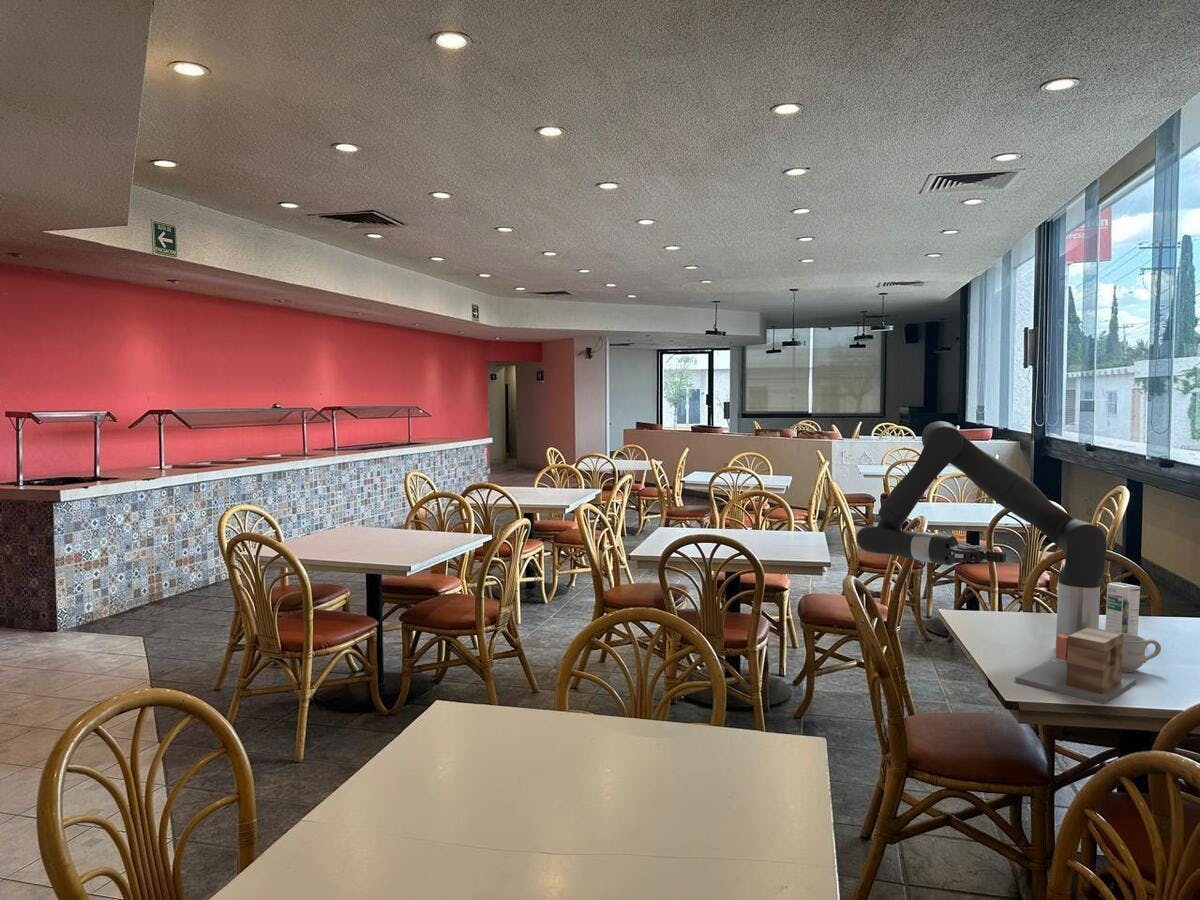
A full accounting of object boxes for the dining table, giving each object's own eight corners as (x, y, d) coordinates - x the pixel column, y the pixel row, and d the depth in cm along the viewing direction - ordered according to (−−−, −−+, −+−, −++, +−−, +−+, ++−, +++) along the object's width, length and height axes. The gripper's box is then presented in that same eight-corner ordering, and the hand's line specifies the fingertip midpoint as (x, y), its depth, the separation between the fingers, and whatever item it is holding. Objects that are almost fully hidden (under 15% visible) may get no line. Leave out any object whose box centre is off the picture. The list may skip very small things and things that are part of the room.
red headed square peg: (1064, 654, 186) (1065, 632, 186) (1108, 663, 179) (1109, 641, 179) (1055, 658, 183) (1056, 636, 183) (1100, 668, 176) (1101, 645, 176)
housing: (1085, 678, 186) (1088, 626, 185) (1120, 686, 181) (1123, 633, 180) (1066, 690, 178) (1068, 635, 178) (1101, 698, 173) (1104, 643, 172)
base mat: (1050, 664, 197) (1050, 660, 196) (1135, 683, 183) (1136, 679, 183) (1015, 681, 183) (1015, 677, 183) (1104, 704, 170) (1105, 699, 170)
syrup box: (1103, 635, 222) (1106, 583, 222) (1117, 633, 225) (1119, 581, 224) (1124, 641, 217) (1127, 587, 217) (1138, 638, 220) (1141, 585, 219)
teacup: (1092, 671, 192) (1094, 637, 191) (1089, 658, 201) (1090, 626, 201) (1164, 681, 185) (1165, 646, 185) (1157, 667, 195) (1158, 634, 194)
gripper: (921, 535, 202) (993, 545, 189) (947, 531, 210) (1016, 539, 197) (920, 565, 202) (991, 577, 189) (946, 559, 211) (1015, 570, 198)
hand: (1004, 558), depth 193 cm, fingers closed
